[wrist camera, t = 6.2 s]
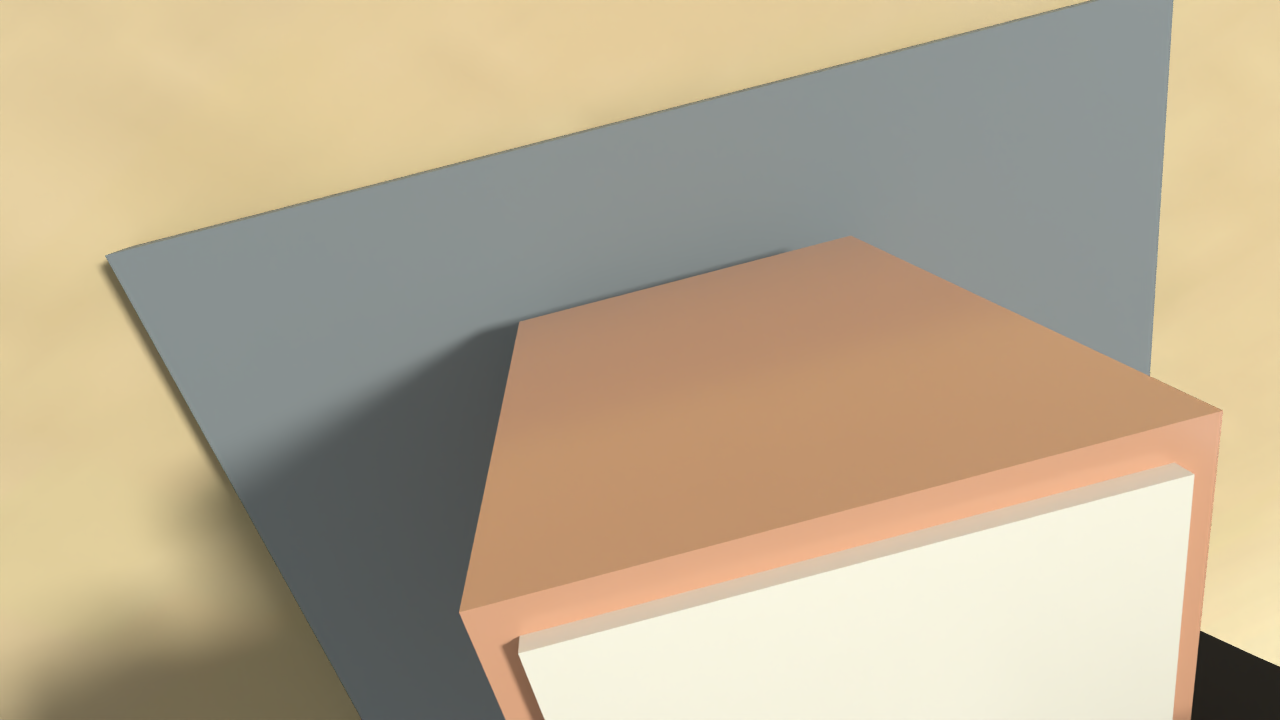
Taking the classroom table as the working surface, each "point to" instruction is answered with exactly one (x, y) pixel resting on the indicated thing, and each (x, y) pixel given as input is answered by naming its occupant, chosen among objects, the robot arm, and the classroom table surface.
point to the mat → (626, 289)
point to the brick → (836, 508)
